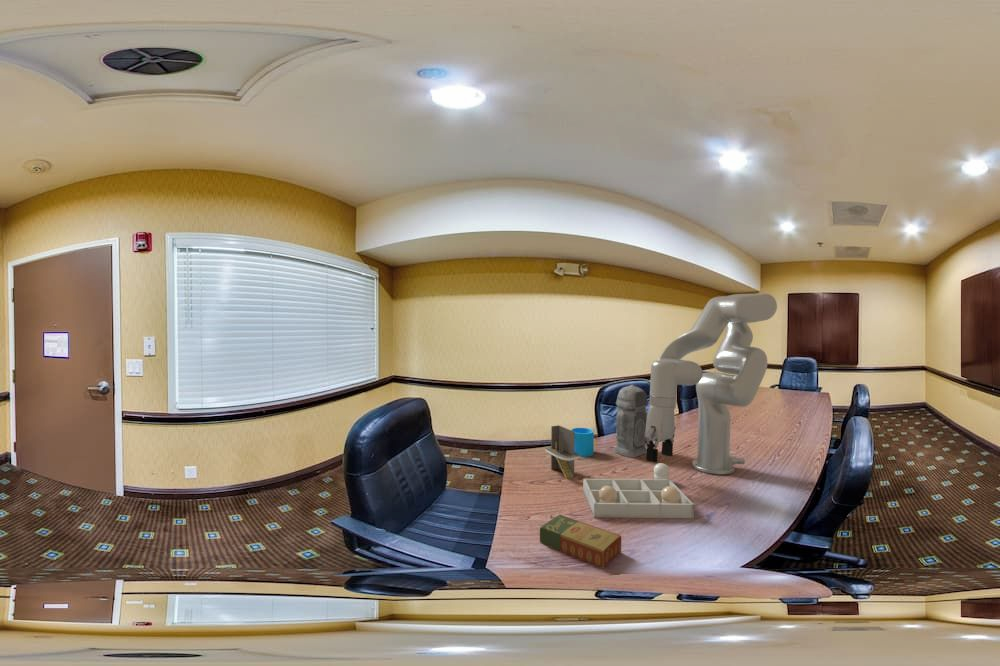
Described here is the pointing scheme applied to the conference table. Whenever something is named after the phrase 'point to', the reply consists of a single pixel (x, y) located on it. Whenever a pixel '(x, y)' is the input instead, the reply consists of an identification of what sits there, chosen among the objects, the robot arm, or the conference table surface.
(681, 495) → the egg tray
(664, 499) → the egg in carton
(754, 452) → the conference table surface
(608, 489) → the egg in carton
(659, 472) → the loose egg
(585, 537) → the carton
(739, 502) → the conference table surface
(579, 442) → the mug
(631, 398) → the figurine
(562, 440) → the toy chair
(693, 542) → the conference table surface
